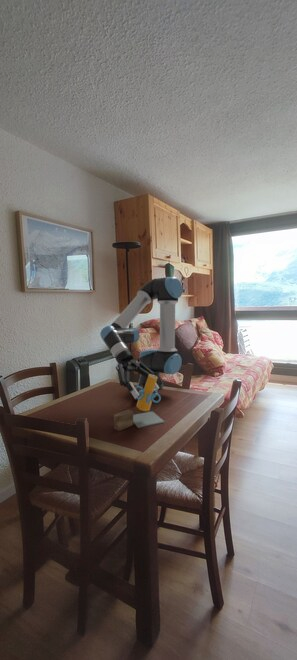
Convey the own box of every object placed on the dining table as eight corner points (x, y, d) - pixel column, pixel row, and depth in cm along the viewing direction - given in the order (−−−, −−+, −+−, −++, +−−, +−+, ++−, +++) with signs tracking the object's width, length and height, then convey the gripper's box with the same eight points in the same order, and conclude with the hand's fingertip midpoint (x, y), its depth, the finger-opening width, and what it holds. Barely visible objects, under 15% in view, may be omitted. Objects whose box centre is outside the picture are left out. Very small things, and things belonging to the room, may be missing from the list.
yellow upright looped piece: (140, 416, 121) (151, 382, 118) (124, 403, 128) (134, 371, 125) (160, 412, 129) (171, 381, 127) (145, 400, 137) (155, 370, 134)
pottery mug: (138, 396, 165) (145, 384, 164) (150, 407, 160) (158, 393, 159) (126, 397, 155) (133, 384, 154) (139, 408, 150) (147, 394, 149)
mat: (152, 412, 139) (152, 411, 139) (164, 422, 127) (164, 421, 127) (127, 417, 134) (127, 415, 134) (137, 428, 122) (137, 426, 122)
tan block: (114, 429, 122) (113, 415, 122) (128, 423, 128) (128, 409, 127) (119, 431, 120) (118, 416, 120) (133, 424, 126) (132, 410, 125)
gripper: (136, 355, 147) (161, 391, 138) (97, 363, 130) (122, 405, 121) (144, 345, 143) (170, 382, 134) (104, 352, 126) (131, 395, 116)
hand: (147, 393), depth 127 cm, fingers closed on yellow upright looped piece, 12 cm apart
